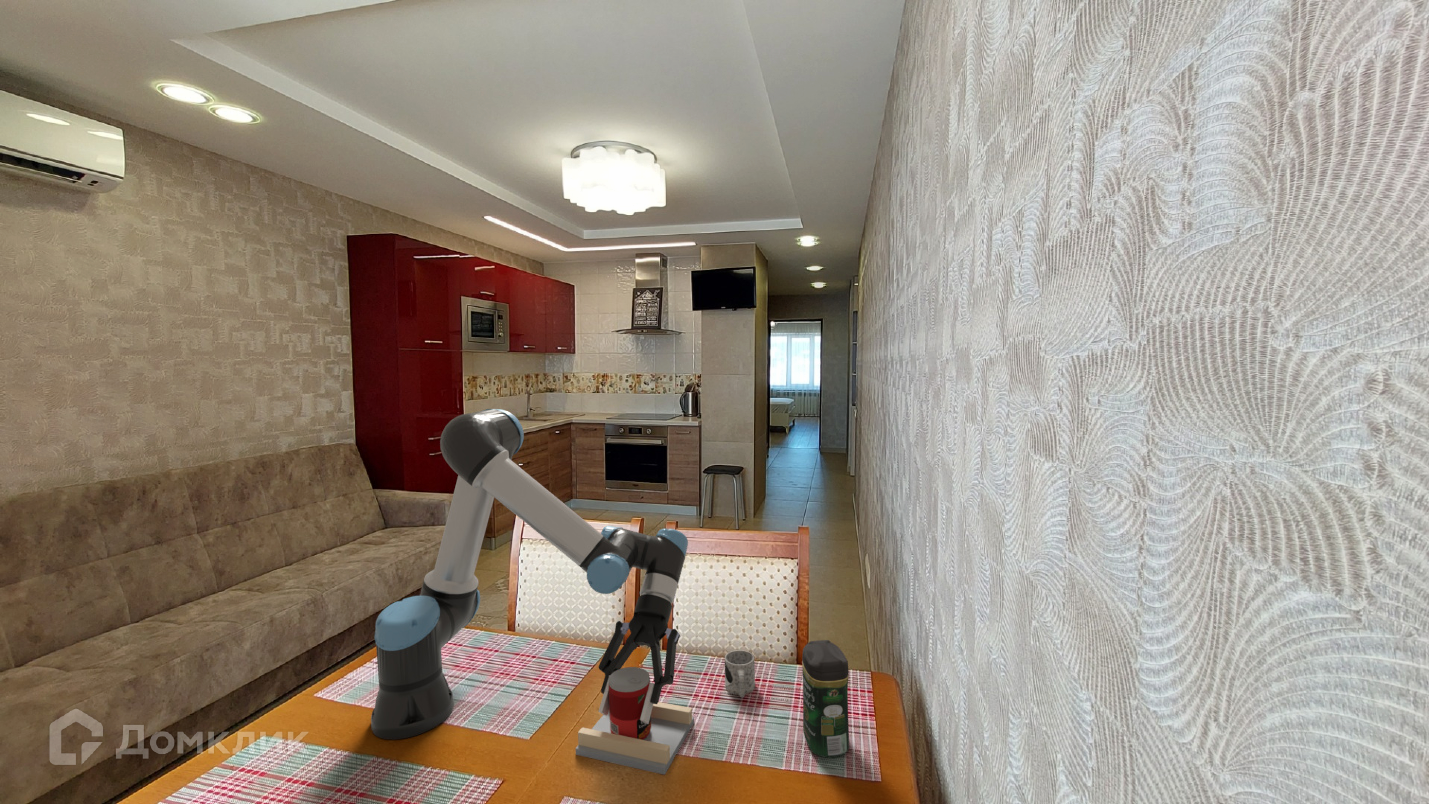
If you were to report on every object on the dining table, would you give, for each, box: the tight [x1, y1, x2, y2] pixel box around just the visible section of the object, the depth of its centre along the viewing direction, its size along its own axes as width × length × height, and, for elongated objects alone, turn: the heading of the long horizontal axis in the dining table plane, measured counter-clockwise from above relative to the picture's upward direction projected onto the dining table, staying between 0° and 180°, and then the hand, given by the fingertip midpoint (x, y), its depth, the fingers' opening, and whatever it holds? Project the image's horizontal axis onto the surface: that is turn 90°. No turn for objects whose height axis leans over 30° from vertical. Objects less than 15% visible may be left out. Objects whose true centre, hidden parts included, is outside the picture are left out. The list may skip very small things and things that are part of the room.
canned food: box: [609, 666, 651, 740], centre depth 109 cm, size 8×8×11 cm
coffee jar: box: [801, 639, 850, 758], centre depth 107 cm, size 10×8×19 cm
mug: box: [724, 649, 756, 698], centre depth 125 cm, size 10×7×7 cm
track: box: [575, 701, 695, 775], centre depth 110 cm, size 18×15×4 cm
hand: (623, 717), depth 107 cm, fingers closed on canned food, 8 cm apart
